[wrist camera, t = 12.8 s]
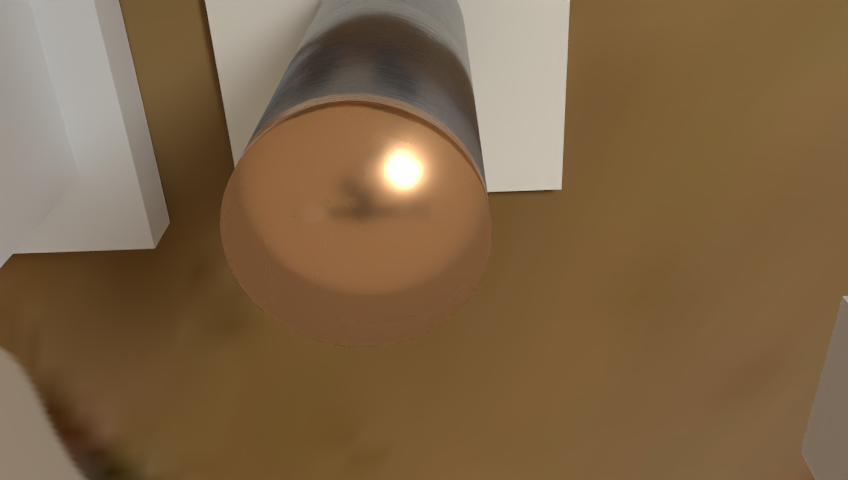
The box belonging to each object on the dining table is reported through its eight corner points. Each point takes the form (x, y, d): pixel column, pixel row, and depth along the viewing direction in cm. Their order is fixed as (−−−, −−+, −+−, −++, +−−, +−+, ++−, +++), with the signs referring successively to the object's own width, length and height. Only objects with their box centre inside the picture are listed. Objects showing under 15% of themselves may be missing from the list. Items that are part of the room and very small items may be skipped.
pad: (180, -154, 25) (177, -153, 24) (575, -174, 24) (577, -173, 24) (243, 196, 31) (240, 201, 30) (559, 184, 30) (561, 189, 30)
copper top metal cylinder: (308, -40, 26) (198, 113, 14) (464, -45, 26) (492, 103, 14) (323, 108, 28) (241, 350, 16) (465, 104, 28) (491, 344, 16)
